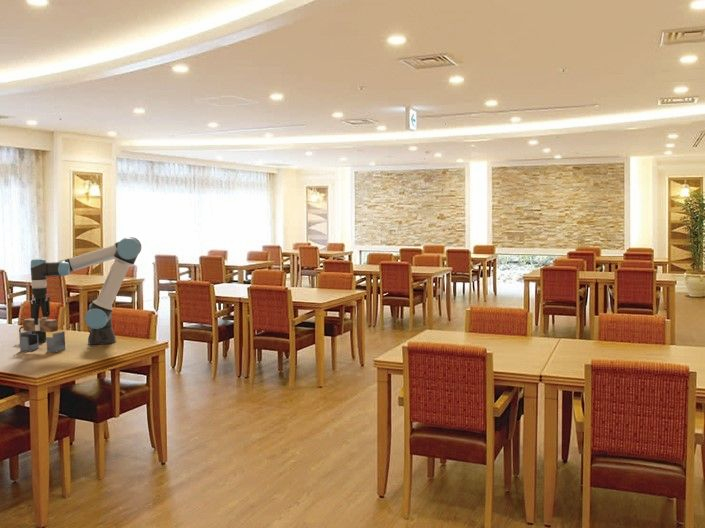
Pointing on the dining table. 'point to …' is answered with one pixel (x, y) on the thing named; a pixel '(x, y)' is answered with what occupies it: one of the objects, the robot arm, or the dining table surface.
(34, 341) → the bracket
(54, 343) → the bracket
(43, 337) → the mug
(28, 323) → the rail
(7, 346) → the dining table surface
